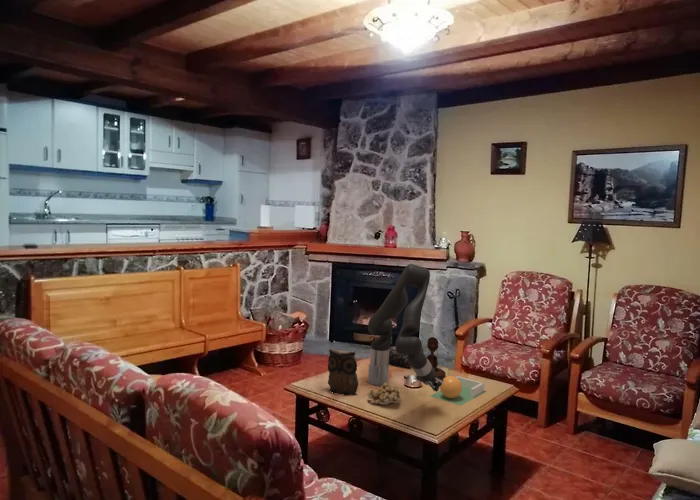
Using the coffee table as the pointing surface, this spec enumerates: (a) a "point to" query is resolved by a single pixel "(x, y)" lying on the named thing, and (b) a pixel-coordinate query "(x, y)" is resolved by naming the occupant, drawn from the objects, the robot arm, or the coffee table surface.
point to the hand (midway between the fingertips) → (436, 389)
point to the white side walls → (472, 386)
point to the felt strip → (459, 400)
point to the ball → (451, 387)
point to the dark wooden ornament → (434, 357)
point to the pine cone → (398, 359)
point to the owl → (342, 372)
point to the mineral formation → (384, 395)
